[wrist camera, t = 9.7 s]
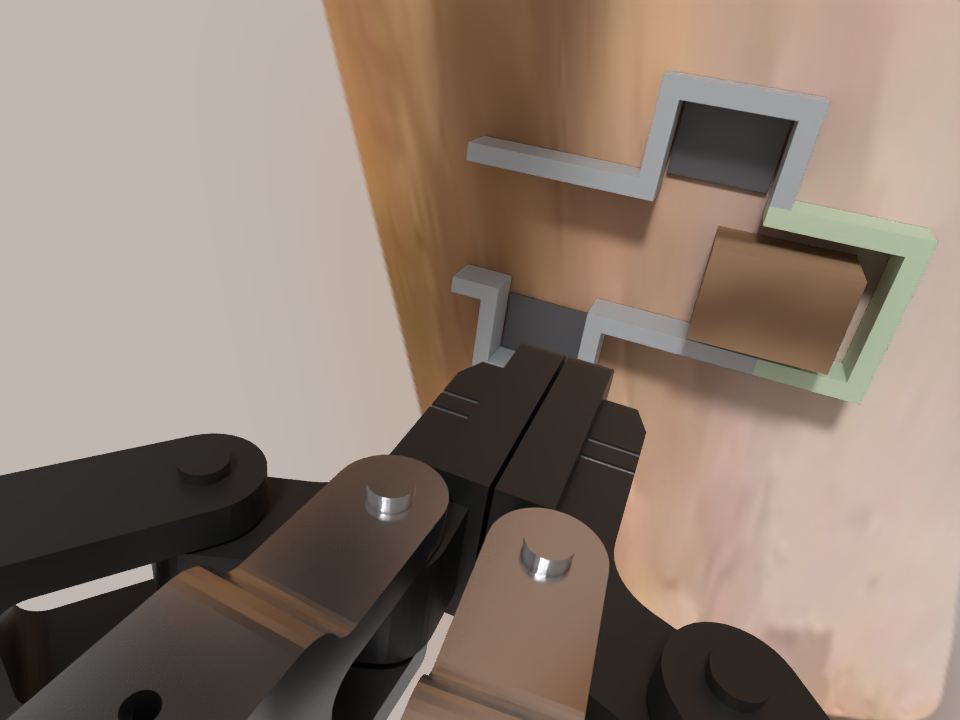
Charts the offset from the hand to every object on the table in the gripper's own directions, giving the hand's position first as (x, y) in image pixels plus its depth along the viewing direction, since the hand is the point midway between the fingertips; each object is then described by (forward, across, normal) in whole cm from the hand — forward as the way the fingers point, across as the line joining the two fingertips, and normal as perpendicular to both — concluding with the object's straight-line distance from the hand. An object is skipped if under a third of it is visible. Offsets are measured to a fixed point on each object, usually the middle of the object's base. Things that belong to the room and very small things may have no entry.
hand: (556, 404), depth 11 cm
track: (+29, 0, +7) cm, 30 cm away
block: (+29, -6, +7) cm, 30 cm away
